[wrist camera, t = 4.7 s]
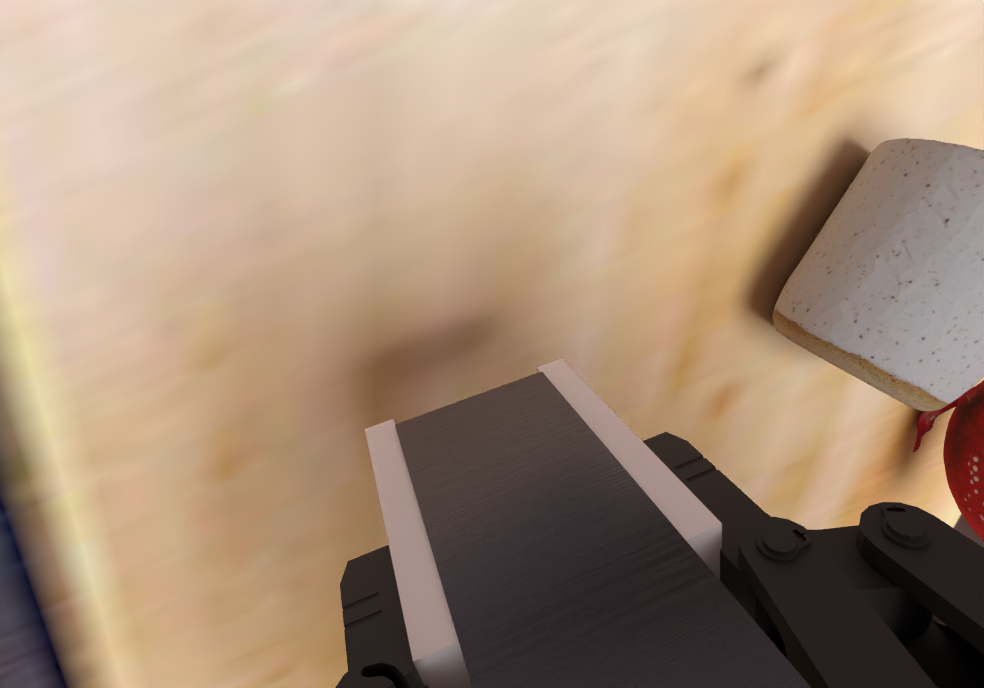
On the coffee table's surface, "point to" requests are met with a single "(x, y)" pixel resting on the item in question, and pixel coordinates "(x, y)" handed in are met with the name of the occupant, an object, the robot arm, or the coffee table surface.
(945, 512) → the coffee table surface
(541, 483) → the grey piece
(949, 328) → the ceramic mug
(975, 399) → the decorative bird figurine
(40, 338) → the coffee table surface
